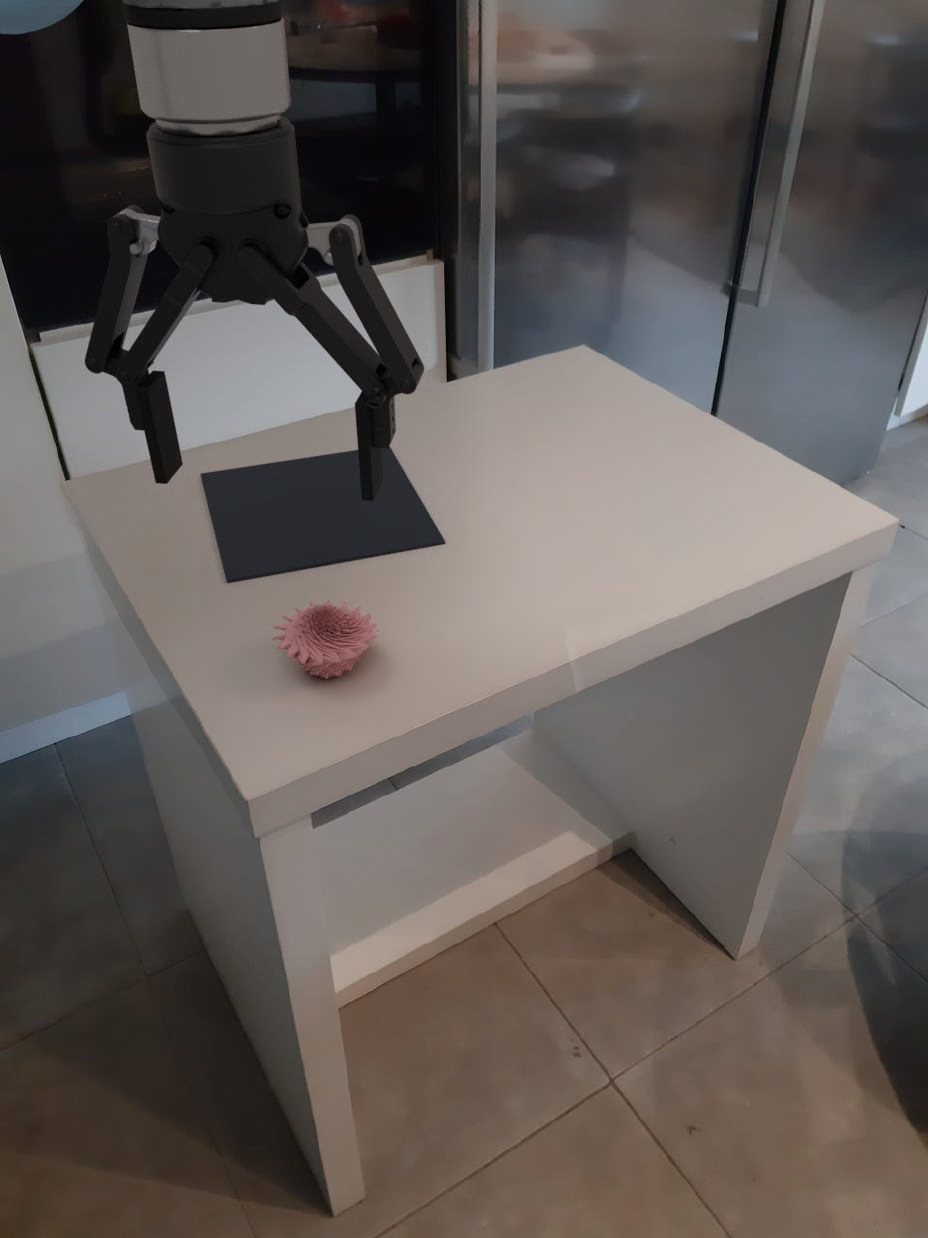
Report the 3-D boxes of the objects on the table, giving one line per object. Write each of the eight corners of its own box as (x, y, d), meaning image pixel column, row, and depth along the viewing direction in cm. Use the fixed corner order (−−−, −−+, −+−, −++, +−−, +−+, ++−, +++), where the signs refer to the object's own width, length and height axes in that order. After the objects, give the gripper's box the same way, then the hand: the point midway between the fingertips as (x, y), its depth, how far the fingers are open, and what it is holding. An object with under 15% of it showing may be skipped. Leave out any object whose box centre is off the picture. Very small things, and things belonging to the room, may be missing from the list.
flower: (272, 703, 73) (263, 645, 70) (282, 636, 80) (274, 580, 76) (378, 700, 74) (374, 642, 70) (380, 634, 80) (376, 578, 76)
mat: (226, 582, 86) (226, 580, 85) (200, 475, 101) (200, 473, 100) (445, 543, 91) (445, 540, 90) (389, 447, 106) (389, 444, 105)
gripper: (470, 110, 52) (469, 468, 65) (29, 97, 55) (112, 440, 68) (446, 141, 46) (450, 528, 59) (-47, 124, 49) (60, 495, 62)
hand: (269, 482), depth 63 cm, fingers open, 13 cm apart
